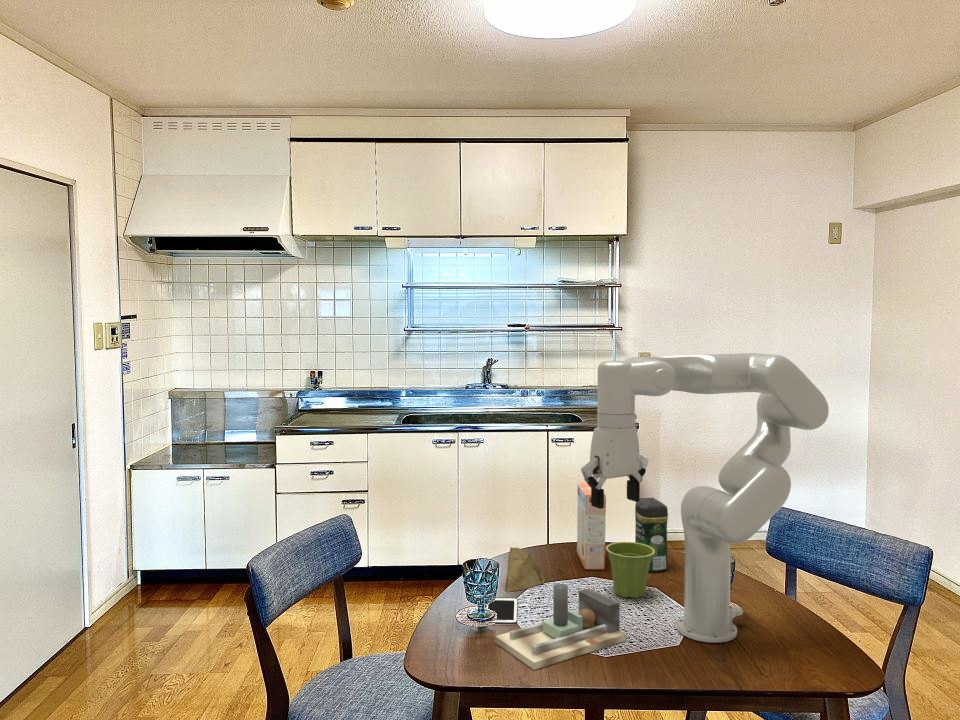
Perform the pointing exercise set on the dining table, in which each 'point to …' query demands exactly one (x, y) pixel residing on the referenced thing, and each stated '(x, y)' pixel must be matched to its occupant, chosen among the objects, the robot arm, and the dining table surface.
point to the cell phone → (504, 610)
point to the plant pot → (630, 567)
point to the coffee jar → (652, 530)
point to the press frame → (547, 650)
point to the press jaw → (562, 615)
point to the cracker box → (590, 530)
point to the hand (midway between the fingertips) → (615, 503)
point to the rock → (522, 571)
